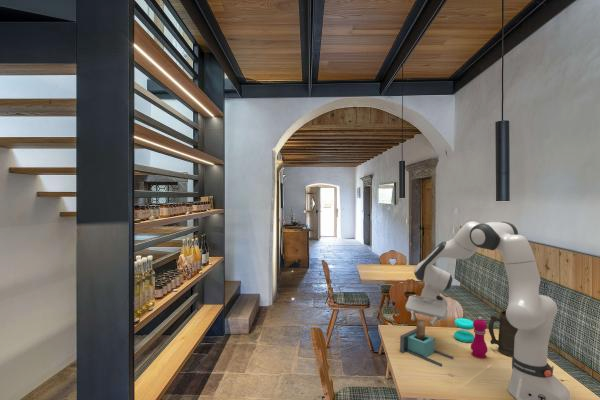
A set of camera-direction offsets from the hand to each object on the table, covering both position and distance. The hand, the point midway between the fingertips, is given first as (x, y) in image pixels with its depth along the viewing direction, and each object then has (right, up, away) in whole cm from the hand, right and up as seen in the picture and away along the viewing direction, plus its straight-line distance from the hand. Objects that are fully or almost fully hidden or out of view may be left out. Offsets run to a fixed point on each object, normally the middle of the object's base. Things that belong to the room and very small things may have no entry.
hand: (421, 322), depth 176 cm
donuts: (+28, -15, +15) cm, 35 cm away
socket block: (-1, -13, -3) cm, 14 cm away
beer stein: (+42, -15, +1) cm, 44 cm away
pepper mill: (+26, -15, -5) cm, 30 cm away
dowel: (-2, -10, -2) cm, 11 cm away
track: (+1, -15, -5) cm, 16 cm away
